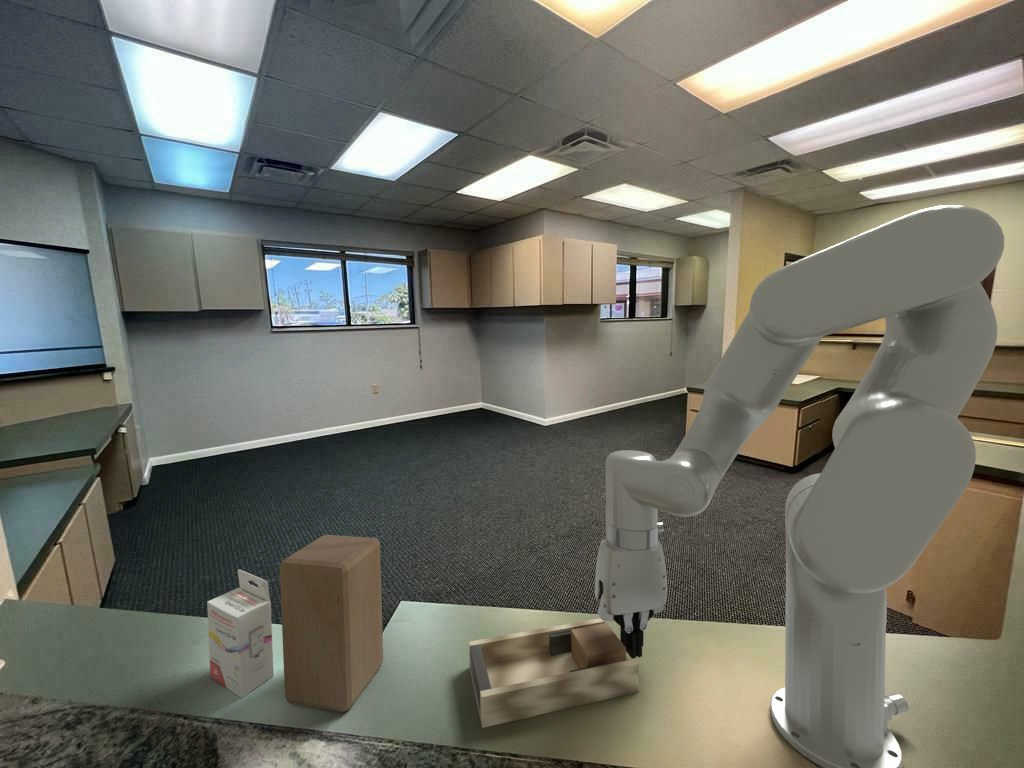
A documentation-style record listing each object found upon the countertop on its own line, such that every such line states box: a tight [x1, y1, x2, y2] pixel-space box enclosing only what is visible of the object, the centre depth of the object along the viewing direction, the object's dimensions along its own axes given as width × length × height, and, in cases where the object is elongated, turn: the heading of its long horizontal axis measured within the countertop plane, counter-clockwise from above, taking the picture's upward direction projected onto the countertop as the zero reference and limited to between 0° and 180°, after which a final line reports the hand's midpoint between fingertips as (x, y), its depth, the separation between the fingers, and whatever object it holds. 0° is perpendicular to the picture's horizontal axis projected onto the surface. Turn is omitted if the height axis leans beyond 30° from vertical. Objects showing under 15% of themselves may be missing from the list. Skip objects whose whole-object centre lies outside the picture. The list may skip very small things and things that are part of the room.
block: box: [279, 534, 384, 713], centre depth 60 cm, size 10×10×20 cm
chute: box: [468, 617, 640, 729], centre depth 60 cm, size 22×11×4 cm, turn 104°
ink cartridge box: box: [206, 568, 275, 698], centre depth 61 cm, size 9×5×15 cm, turn 62°
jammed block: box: [571, 622, 627, 669], centre depth 62 cm, size 6×6×4 cm
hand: (631, 651), depth 63 cm, fingers closed
